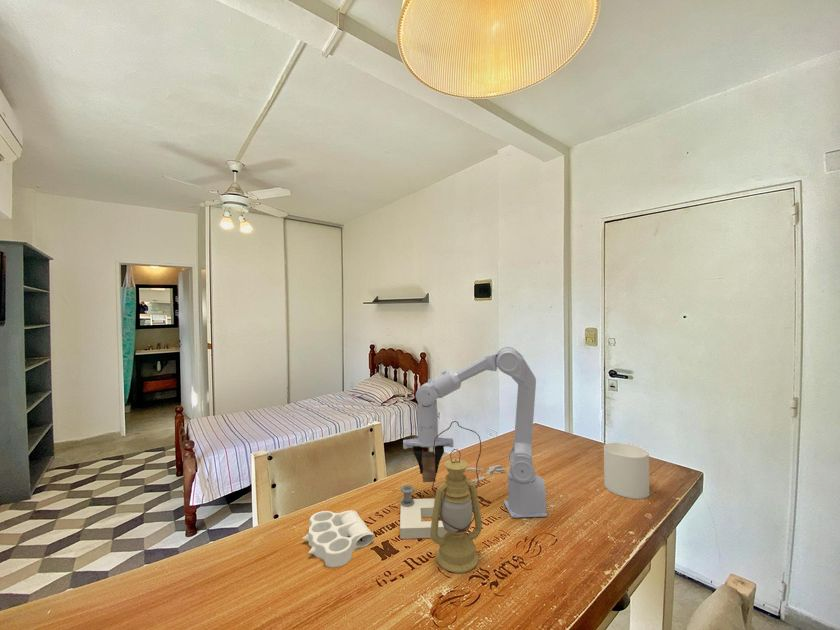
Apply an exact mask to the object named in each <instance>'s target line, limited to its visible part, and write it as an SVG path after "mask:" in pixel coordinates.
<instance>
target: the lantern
mask: <svg viewBox="0 0 840 630" xmlns="http://www.w3.org/2000/svg"><path fill="white" fill-rule="evenodd" d="M453 423H456V424H457V426H458V427H459V428H461V429H464V430H467V431H470V432H473V433H475V435H477V436H478V439H479V445H480V449H479V454H478V457H477V459H476V464H475V465H476V467H475V468H476V472H475V473H476V479H478V478H479V473H477V468H478V463H479V460H480V456H481V452H482V441H481V436H480V435H479V434H478V433H477V432H476V431H474V430H471V429H469V428H466V427H463V426H461V425H459V422H458V421H456V420H455V421H451V422H450V425H449V427H448V428H446V429H445V430H443V431H441V432H440V433H438V436H437V437H438V438H439V436H441V434H443V433H445V432H446V431H448V430H449V429H450V428H451V427H452V425H453ZM437 437H436V438H437ZM436 438H435V440H436ZM435 440H434V445H435ZM454 451H457V452H458V453H459V458H458V459H457V458H453V459H452V453H453V452H454ZM432 452H433V454H435V449H434V446H433V447H432ZM449 456H450V459H448V460H446V461H444V463H443V465H444V468H446V469H447V471H446V472H447V474H446V475H445V481H444V482H442V483H440V484H439V485H438V486H437V488H436V490H434V483H435V482H434V481H435V480H436V478H437V473H436V463H435V460H434V463H435V478H434V481H433V482H432V487H431V490H432V492H433V494H434V495H435V496H434V498H435V501H434V508H433V514H432V517H431V521H432V522H431V538H430V539H431V541H432V542H433V543H434V544H436V545H438V547H439V548H438V549H437V551H436V554H435V558H436V561H437V563H438V565H439V566H440V567H441V568H442V569H444V570H445V571H447V572H450V573H453V574H464V573H467V572H470V571H471V570H473V569H474V568H475V567H476V566H477V565H478V563H479V554H478V553H477V551H476V550H475V549H476V548H475V547H476V545H475V543H474V540H476V539H477V538H478V537H479V535H480V534H481V532H482V529H483V522H482V513H481V508H480V502H479V501H480V500H479V498H478V497H479V496H478V491H477V488H478V487H479V483H480V481H479V479H478V482H477V485H476V482H473V481H472V480H473V479H469V478H467V476H466V474H464V473H465V471H466V470H465V469H466V468H469V463H468V462H467V461H465V460H463V459H461V451H460V450H459V449H457V448H453V450H451V452H450V453H449ZM433 459H434V455H433ZM439 515H440V516H441V517H439ZM439 521H442V523H443V526H444V528H445V530H446V531H447V533H446V534H445V535H444V536H443V537H439V536H438V523H439ZM473 522H474V526H475V527H474V529H473V531H470V532H468V531H469V530H470V528H471V525H472V523H473Z"/></svg>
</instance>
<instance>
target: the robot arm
mask: <svg viewBox="0 0 840 630" xmlns="http://www.w3.org/2000/svg"><path fill="white" fill-rule="evenodd" d="M497 369H498V370H499V371H500V372H502V373H503V374H506V375H507V376H509V377H511V378H512V380H513V381H514V382H515V383H517V394H516V395H517V396H516V408H515V409H516V410H515V421H514V422H515V423H514V424H515V425H514V434H513V435H514V437H513V445H512V448H511V450H510V451H509V453H508V459H509V470H508V472H507V499H504V500H503V504H504V506H505V508H506V509H507V511H508V513H509V515H510V516H511V518H513V519H514V518H515V519H519V518H539V517H540V518H541V517H542V518H545V517H547V516H548V514H547V500H546V499H547V494H546V486H545V485H546V484H545V481H544V479H543V477H542V476H541V475H536V474H535V473H536V471H535V467H534V464H533V453H532V451H533V448H532V445H533V444H532V442H533V430H534V429H533V428H534V427H533V426H534V415H535V413H534V412H535V401H536V400H535V399H536V387H537V378H536V376H535V374H534V372H533V371H532V370H531V367H530V366H529V365H528V363H527V361H526V360H525V358H524V356H523V355H522V354H521V353H520V352H519V351H518V350H517V349H515V348H513V347H511V346H505V347H502V348H501V349H499V350H495V351H492V352H491V353H488V354H485V355H483V356H481V357H480V358H478V359H477V360H474V361H473V362H471V363H470V364H468V365H467V366H466V365H465V367H463V368H461V369H459V370H457V371H455V370H451V369H450V370H445V369H444V371H442V372H441V374H440V375H439V376H437V377H434V378H433V379H432V378H430V379H428V380H427V382H425V383H423V384H422V385H421V386H420V387H418V389H417V390H416V392H415V399H416V401H417V425H418V426H417V429H418V431H417V436H418V437H417V438H416V437H415V438H410V439H403V441H402V443H403V444H402V447H403V450H407V449H410V448H411V449H412V451H413V455H414V457H415V458H416V461H417V465H418V467H419V468H418V469H419V474H421V475H422V474H423V468H422V452H423V451H422V450H423V449H422V448H433V446H434V454H435V463H436V474H438V471H439V466H440V463H441V459H442V457H443V456H444V453H445V448H446V447H449V448H454V439H453V438H452V437H451V438H450V437H449V438H446V437H439V436H438V435H439V423H438V420H439V419H438V412H439V411H438V401H437V399H442V398H444V397H446V396H448V395H449V394H451V393H454V392H455V391H457V390H459V389H460V388H461V386H462V383H463V382H464V381H467V380H468V379H470V378H473V377H474V376H475V377H476V376H478V375H479V374H481V373H483V372H486V371H491V372H497ZM437 436H438V437H437ZM436 437H437V438H436ZM435 438H436V440H435ZM434 440H435V445H434Z"/></svg>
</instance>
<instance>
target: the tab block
mask: <svg viewBox="0 0 840 630" xmlns="http://www.w3.org/2000/svg"><path fill="white" fill-rule="evenodd" d="M433 455H434V459H433ZM434 460H435V453H434V454H433V451H422V468H423V474H421V475H422V483H433V481H434V478H435V463H434ZM434 483H436V478H435V481H434Z"/></svg>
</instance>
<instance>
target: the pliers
mask: <svg viewBox="0 0 840 630" xmlns="http://www.w3.org/2000/svg"><path fill="white" fill-rule="evenodd" d="M479 468H480V467H479ZM498 468H502V465H501V464H498V465H492V466H491V465H490V466H488V469H489V470H487V472H485V473H486V474H491V473H493V472H494V471H496V472H502V471H503V472H504V471H505V472H506V468H502V469H498ZM466 469H471V470H473V469H474V470H473V471H475V470H476V467H467V468H466ZM466 469H465V471H467V470H466ZM480 469H482V470H483V469H484V468H480ZM495 469H496V470H495ZM471 470H470V471H471ZM477 470H479V469H477ZM473 471H472V472H473ZM477 472H479V471H477ZM481 474H482V473H479V474H478V478H475V479H471V480H472V481H473V482H474V483H476V482H475V481H478V479H479V482H481V481H480V480H482V479H485V478H484V475H481ZM480 475H481V476H480ZM485 480H486V479H485ZM482 481H483V480H482Z"/></svg>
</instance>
